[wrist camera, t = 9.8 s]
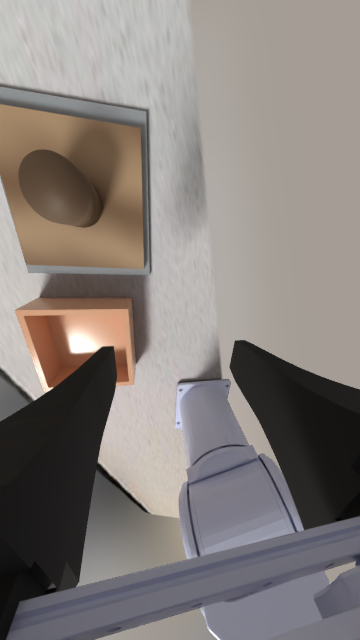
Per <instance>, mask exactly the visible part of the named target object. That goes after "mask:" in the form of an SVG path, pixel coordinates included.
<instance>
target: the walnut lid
mask: <svg viewBox="0 0 360 640" xmlns="http://www.w3.org/2000/svg"><path fill="white" fill-rule="evenodd" d="M0 175H1V179H2V182H3V186H4V189H5V193H6V196H7V200H8V203H9V207H10V210H11V214H12V217H13V221H14V224H15V228H16V231H17V235H18V238H19V242H20V245H21V249H22V252H23V256H24V259H25V263H26V265H47V266H74V267H101V268H128V269H144V238H143V194H142V150H141V128H138V127H132V126H126V125H120V124H114V123H108V122H102V121H97V120H91V119H85V118H79V117H73V116H67V115H61V114H55V113H49V112H43V111H38V110H32V109H26V108H20V107H14V106H8V105H2V104H0Z"/></svg>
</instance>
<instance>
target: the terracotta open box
mask: <svg viewBox="0 0 360 640" xmlns="http://www.w3.org/2000/svg"><path fill="white" fill-rule="evenodd" d="M15 313H16V315H17V318H18V321H19V324H20V326H21V329H22V332H23V335H24V337H25V340H26V343H27V346H28V349H29V351H30V354H31V357H32V360H33V362H34V365H35V368H36V371H37V373H38V376H39V379H40V382H41V385H42V387H43V390H44V392H48V391H50V390H51V389H52V388H54V387H55V386H57V385H58V384H59V383H61V382H62V381H63V380H64V379H65V378H67V377H68V376H69V375H70V374H72V373H73V372H74V371H75V370H77V369H78V368H79V367H80V366H81V365H82V364H83V363H85V362H86V361H87V360H88V359H89V358H90V357H91V356H92V355H93V354H94V353H95V352H97V351H98V350H99V349H100V348H101V347H102V346H114V352H115V360H116V368H117V381H116V386H124V385H134V380H135V370H136V356H135V341H134V326H133V311H132V298H37V299H35V300H33V301H31V302H29V303H28V304H26V305H24V306H22V307H20V308H18V309H16V310H15Z"/></svg>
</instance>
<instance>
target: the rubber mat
mask: <svg viewBox="0 0 360 640" xmlns="http://www.w3.org/2000/svg"><path fill="white" fill-rule="evenodd" d="M0 104H2V105H8V106H14V107H20V108H26V109H32V110H38V111H43V112H49V113H55V114H61V115H67V116H73V117H79V118H85V119H91V120H97V121H102V122H108V123H114V124H120V125H126V126H132V127H138V128H141V150H142V194H143V238H144V269H128V268H101V267H74V266H47V265H26V266H27V269H28V272H29V273H65V274H115V275H150V262H149V216H148V170H147V124H146V111H140V110H135V109H129V108H123V107H117V106H111V105H105V104H99V103H94V102H88V101H82V100H76V99H70V98H64V97H58V96H52V95H47V94H41V93H35V92H29V91H23V90H17V89H11V88H6V87H0ZM0 178H1V175H0ZM1 182H2V179H1ZM2 185H3V182H2ZM3 188H4V186H3ZM4 192H5V189H4ZM5 195H6V193H5ZM6 199H7V196H6ZM7 202H8V200H7ZM8 205H9V203H8ZM9 209H10V207H9ZM10 212H11V210H10ZM11 215H12V214H11ZM12 219H13V217H12ZM13 222H14V221H13ZM14 225H15V224H14ZM15 229H16V228H15ZM16 232H17V231H16ZM18 239H19V238H18Z"/></svg>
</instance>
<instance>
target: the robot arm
mask: <svg viewBox="0 0 360 640" xmlns="http://www.w3.org/2000/svg"><path fill="white" fill-rule="evenodd" d="M230 369H231V372H232V374H233V377H234V379H235V381H236V383H237V385H238V386H239V388H240V389H241V392H242V393H243V395H244V397H245V398H246V400H247V402H248V403H249V405H250V406H251V408H252V410H253V412H254V413H255V415H256V417H257V418H258V420H259V422H260V424H261V426H262V428H263V430H264V432H265V434H266V437H267V439H268V441H269V443H270V445H271V448H272V449H273V452H274V454H275V456H276V459H277V461H278V463H279V466H280V468H281V470H282V473H283V474H282V473H281V471H280V469H279V468H278V466H277V465H276V464H275V462H274V461H273V460H272V459H271V458H269V457H267V456H266V455H265V454H263V453H262V454H259V455H257V453H256V451H255V449H254V447H253V446H252V445H249V444H248V442H247V440H246V438H245V435H244V433H243V431H242V429H241V427H240V425H239V424H238V421H237V419H236V417H235V415H234V413H233V411H232V409H231V407H230V405H229V403H228V401H227V398H228V393H229V388H230V384H231V382H230V380H229V379H223V380H211V381H199V382H186V383H179V384H178V385H177V397H176V415H175V428H176V429H182V434H183V440H184V445H185V451H186V457H187V463H188V469H187V476H188V481H187V482H184V483H183V485H182V489H181V491H180V494H179V517H180V526H181V532H182V539H183V544H184V549H185V553H186V557H187V560H183V561H179V562H175V563H171V564H167V565H164V566H159V567H155V568H152V569H147V570H144V571H139V572H136V573H131V574H127V575H124V576H119V577H115V578H112V579H107V580H104V581H99V582H95V583H91V584H87V585H83V586H79V587H76V586H77V584H78V582H79V578H80V570H81V563H82V555H83V549H84V542H85V535H86V528H87V521H88V515H89V509H90V503H91V496H92V490H93V484H94V479H95V473H96V467H97V461H98V456H99V451H100V445H101V441H102V436H103V432H104V429H105V425H106V422H107V418H108V415H109V411H110V408H111V404H112V400H113V397H114V393H115V388H116V381H117V368H116V360H115V352H114V346H102V347H101V348H100V349H99V350H98V351H97V352H95V353H94V354H93V355H92V356H91V357H90V358H89V359H88V360H87V361H86V362H85V363H83V364H82V365H81V366H80V367H79V368H78V369H77V370H75V371H74V372H73V373H72V374H70V375H69V376H68V377H67V378H65V379H64V380H63V381H62V382H61V383H59V384H58V385H57V386H55V387H54V388H52V389H51V390H50V391H48V392H47V393H45V394H44V395H42V396H41V397H40V398H38V399H37V400H35V401H33V402H32V403H30V404H29V405H27V406H25V407H24V408H22V409H21V410H19V411H17V412H16V413H14V414H12V415H11V416H9V417H7V418H6V419H4V420H2V421H1V422H0V640H95V639H98V638H101V637H104V636H108V635H111V634H114V633H118V632H121V631H124V630H127V629H131V628H135V627H138V626H141V625H145V624H148V623H151V622H154V621H158V620H161V619H164V618H168V617H171V616H174V615H178V614H181V613H184V612H188V611H191V610H194V609H198V608H201V611H202V614H203V615H204V617H205V620H206V625H207V628H208V630H209V631H210V632H211V633H212V634H213V635H214V636H215V637H216V638H217V639H218V640H360V390H359V389H356V388H353V387H350V386H347V385H343V384H341V383H338V382H335V381H332V380H329V379H326V378H324V377H321V376H318V375H316V374H313V373H311V372H309V371H306V370H303V369H301V368H299V367H297V366H295V365H293V364H291V363H289V362H286V361H284V360H282V359H280V358H278V357H276V356H275V355H272V354H271V353H269V352H267V351H265V350H263V349H261V348H259V347H257V346H255V345H254V344H252V343H249V342H247V341H244V340H240V341H235V343H234V348H233V353H232V358H231V363H230ZM283 475H284V476H283ZM354 561H356V567H355V568H352V569H350V570H348V571H346V572H343V573H341V574H340V575H339V576H338V577H337V579H336V580H335V581H334V582H332V583H331V584H330V585H329V580H328V578H327V576H326V574H325V570H327V569H331V568H334V567H338V566H341V565H344V564H348V563H351V562H354Z"/></svg>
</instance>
